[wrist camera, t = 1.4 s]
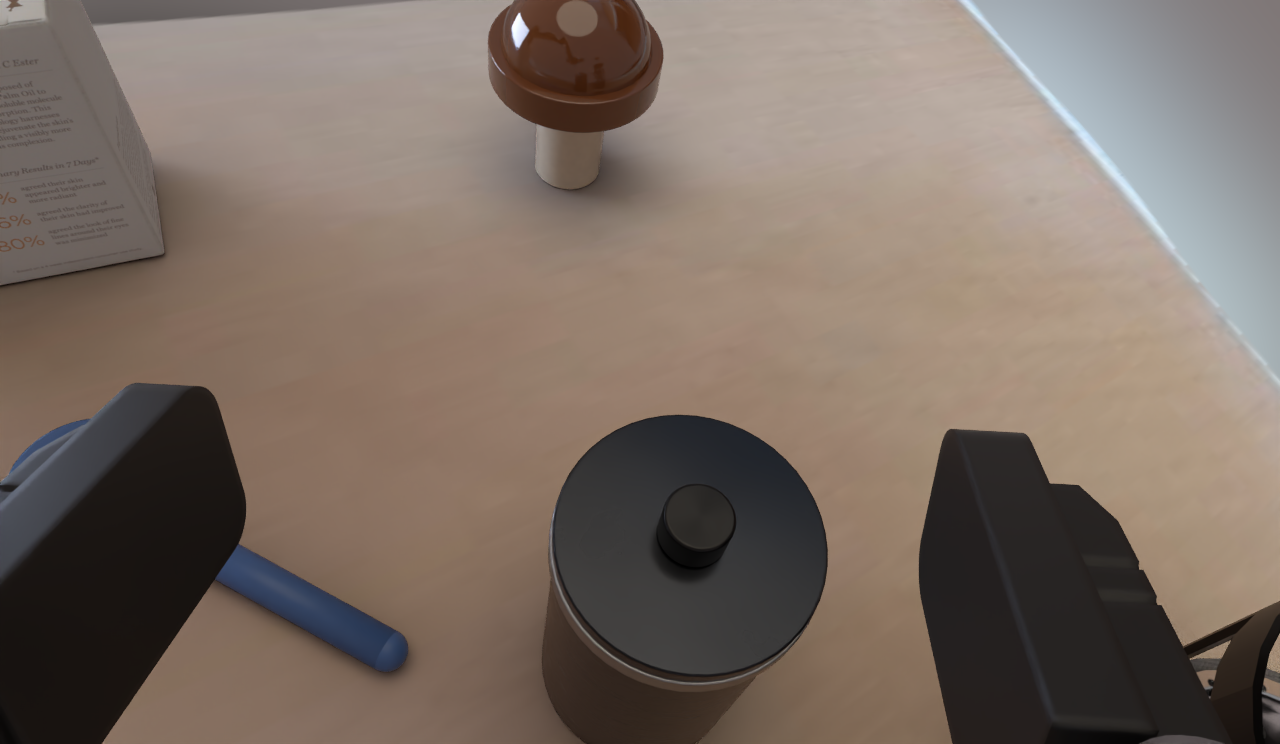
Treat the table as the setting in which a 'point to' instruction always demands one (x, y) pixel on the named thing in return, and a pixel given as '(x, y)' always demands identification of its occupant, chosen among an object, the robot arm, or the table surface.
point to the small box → (67, 149)
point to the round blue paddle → (295, 598)
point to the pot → (675, 578)
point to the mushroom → (574, 77)
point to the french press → (1243, 677)
